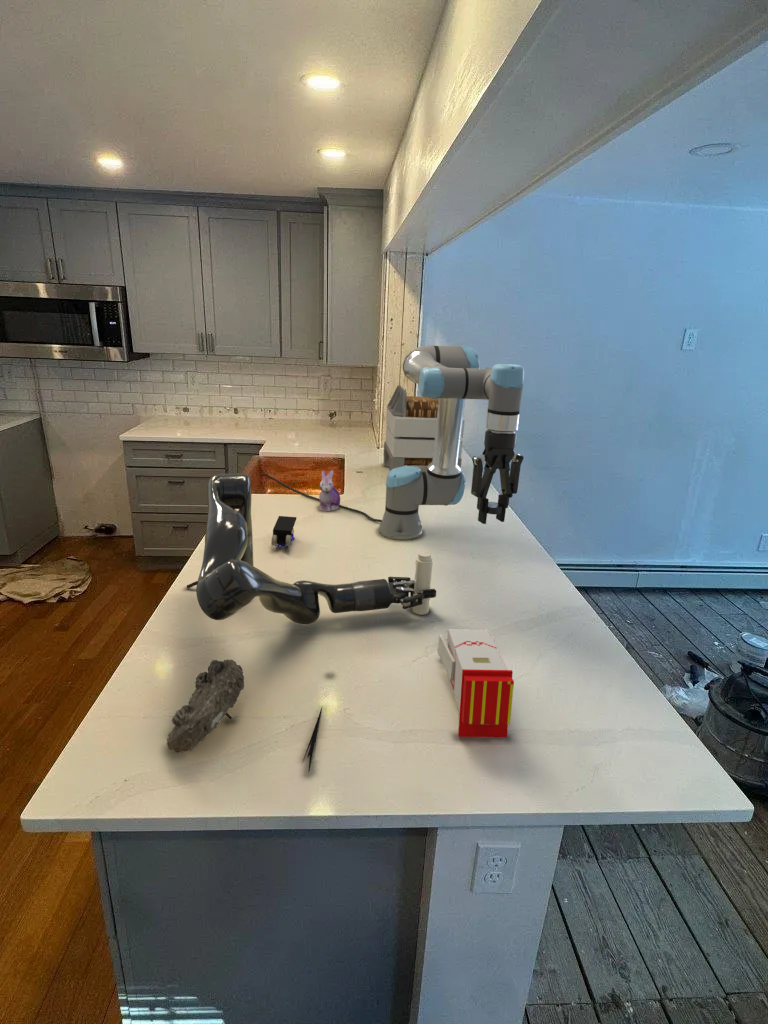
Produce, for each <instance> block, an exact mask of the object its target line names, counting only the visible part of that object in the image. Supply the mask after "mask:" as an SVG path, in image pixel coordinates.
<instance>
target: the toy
mask: <svg viewBox="0 0 768 1024" xmlns="http://www.w3.org/2000/svg"><path fill="white" fill-rule="evenodd" d="M446 640H447V643H446V641H445V639H444V636H443V635H442V634H439V637H438V646H437V656H438V657H439V659H440V661H441V663H442V666H443V668H444V670H445V672H446V674H447V677H448V679H449V681H450V684H451V687H452V690H453V693H454V697H455V701H456V705H457V708H458V711H459V714H458V715H459V716H458V730H457V731H458V732H457V737H458V738H508V731H509V726H510V725H511V717H512V707H513V697H514V696H513V695H514V684H515V680H514V679H513V673H514V671H513V670H512V669H508V667H507V665H506V662H505V661H504V659H503V658H502V655H501V653H500V651H499V649H498V647H497V643H496V639H495V637H494V635H493V634H491V632H490V631H489V629H467V628H466V629H465V628H463V629H461V628H460V629H459V628H448V630H447V639H446Z"/></svg>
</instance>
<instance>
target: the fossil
mask: <svg viewBox="0 0 768 1024" xmlns="http://www.w3.org/2000/svg"><path fill="white" fill-rule="evenodd" d="M243 670H244V669H243V667H242V665H240V664H237V662H236V661H235V660H234V659H232V658H231V659H227V658H226V659H224V660H223V661H222V660H217V659H212V660H211V661H210V663H209V665H208V666H207V671H201V672H199V673H198V674H197V675H196V676H195V680H194V684H195V685H194V687H195V689H194V690H193V693H192V694H191V697H190V698H189V700H188V704H184V705H182V706H181V707H180V709H177V710H176V711H175V713H174V715H173V716H172V718H171V723H172V724H173V727H172V730H171V731H170V732H168V734H167V738H166V741H167V742H166V745H167V749H168V750H169V751H173V752H174V753H176V754H178V753H182V752H188V751H189V752H192V751H193V750H195V748H196V747H197V746H199V744H200V743H201V742H203V741H204V740H205V739H206V738H207V737H208V736H209V735H210V734H211V733H212V732H214V730H215V729H217V727H218V726H219V724H220V722H221V721H222V720H223V719H224V718H225V716H226V717H227V719H229V720H233V717H232V715H230V714H229V710H230V709H231V708H234V706H235V704H236V703H237V702H238V699H239V697H240V695H241V693H242V691H243V690H245V689H244V688H245V675H244V671H243Z"/></svg>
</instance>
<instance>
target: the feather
mask: <svg viewBox="0 0 768 1024" xmlns="http://www.w3.org/2000/svg"><path fill="white" fill-rule="evenodd" d="M329 675H330V676H331V675H332V674H331V673H330V674H329ZM322 710H323V707H321V708H320V710H319V713H318V716H317V719H316V723H315V725H314V728H313V731H312V733H311V737H310V739H309V742H308V745H307V748H306V751H305V754H304V757H303V760H302V763H301V767H302V765H303V763H304V761H305V758H308V759H309V760H308V762H307V763H308V764H307V766H308V771H310V770H311V766H312V765H311V764H312V760H313V757H315V756H314V755H315V751H316V749H315V746H317V739H318V733H319V729H320V722H321V717H322V712H323V711H322ZM313 754H314V755H313ZM306 755H307V757H306Z"/></svg>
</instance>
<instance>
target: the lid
mask: <svg viewBox="0 0 768 1024" xmlns="http://www.w3.org/2000/svg"><path fill="white" fill-rule="evenodd" d="M501 513H502V504H500V503H498V501H497V502H496V501H488V510H487V515H496V514H501Z"/></svg>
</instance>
